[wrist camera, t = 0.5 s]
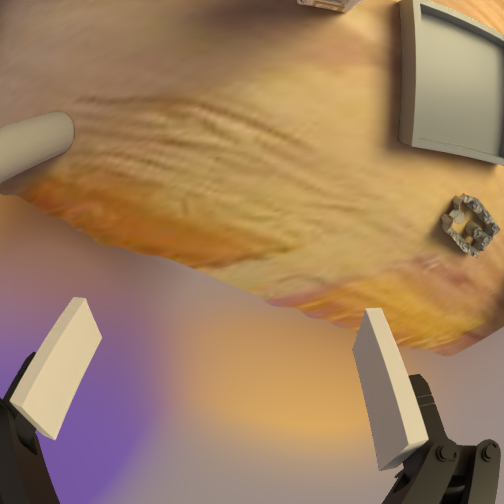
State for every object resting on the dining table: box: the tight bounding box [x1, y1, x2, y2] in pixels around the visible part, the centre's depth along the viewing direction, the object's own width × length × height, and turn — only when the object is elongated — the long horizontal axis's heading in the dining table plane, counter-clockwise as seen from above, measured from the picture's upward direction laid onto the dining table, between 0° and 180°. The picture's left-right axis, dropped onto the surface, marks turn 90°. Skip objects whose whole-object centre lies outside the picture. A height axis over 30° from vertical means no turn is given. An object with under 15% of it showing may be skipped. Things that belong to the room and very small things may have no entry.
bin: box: [398, 0, 504, 166], centre depth 26 cm, size 20×20×4 cm
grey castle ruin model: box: [441, 193, 500, 258], centre depth 36 cm, size 11×8×4 cm
